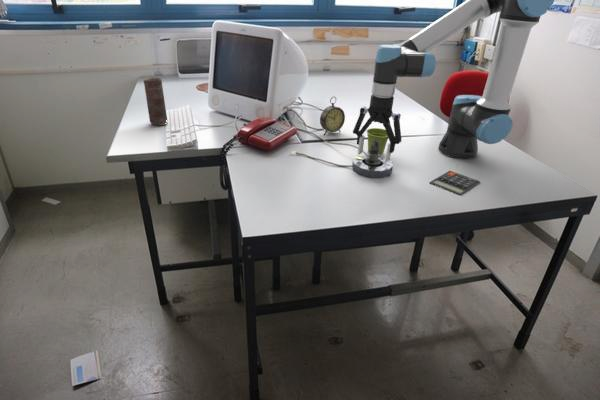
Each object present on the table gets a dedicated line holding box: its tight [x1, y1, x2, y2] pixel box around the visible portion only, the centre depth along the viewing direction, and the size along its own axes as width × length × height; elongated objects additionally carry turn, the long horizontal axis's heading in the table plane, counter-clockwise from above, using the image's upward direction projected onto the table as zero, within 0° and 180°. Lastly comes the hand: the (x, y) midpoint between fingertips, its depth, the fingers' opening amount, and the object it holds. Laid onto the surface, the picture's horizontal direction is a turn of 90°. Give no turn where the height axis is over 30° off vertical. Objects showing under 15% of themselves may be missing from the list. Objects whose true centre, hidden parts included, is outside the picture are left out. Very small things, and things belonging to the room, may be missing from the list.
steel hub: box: [351, 154, 394, 180], centre depth 148 cm, size 14×14×3 cm
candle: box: [143, 76, 168, 126], centre depth 176 cm, size 8×7×20 cm
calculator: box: [429, 170, 481, 196], centre depth 143 cm, size 12×1×15 cm
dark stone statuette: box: [365, 139, 381, 167], centre depth 146 cm, size 6×6×12 cm
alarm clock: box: [319, 96, 346, 136], centre depth 177 cm, size 11×5×16 cm, turn 123°
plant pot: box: [366, 127, 389, 156], centre depth 161 cm, size 9×9×9 cm
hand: (373, 156), depth 146 cm, fingers open, 10 cm apart
